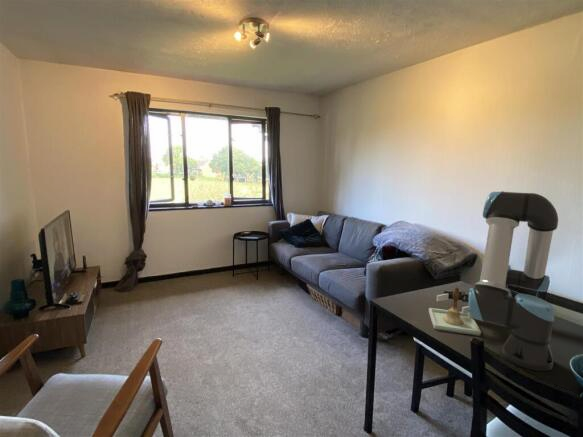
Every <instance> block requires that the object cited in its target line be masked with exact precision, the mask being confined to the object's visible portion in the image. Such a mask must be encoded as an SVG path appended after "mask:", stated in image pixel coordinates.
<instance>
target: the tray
mask: <svg viewBox="0 0 583 437" xmlns="http://www.w3.org/2000/svg"><path fill="white" fill-rule="evenodd" d="M448 311H449V309H441V308H433V307H429V308H428V314H429V316H430V320H431V323H432V326H433V329H434V330H437V331H443V332H449V333H456V334H457V333H458V334H465V335H472V336H479V337H481V334H482V330H481V329H480V327H479V325H478V324H477V322H476V321H475V318H472V317H471V316H470V314H469V313H465V314H462V311H460V318H461V320H462V321H463V325H452V324H449V323H446V322H445V321H444V320H443V318H444V317H445V316H446V315H447V314H448Z"/></svg>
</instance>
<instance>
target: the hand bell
mask: <svg viewBox="0 0 583 437" xmlns="http://www.w3.org/2000/svg"><path fill="white" fill-rule="evenodd" d="M459 292H460V289H459V287H454V290H453V299H452V301H453V302H452V307H450V308H448V310H449V311H448V314H447V315H446V316H445V317H444V318H443V320H444V321H445V322H446V323H449V324H452V325H463V321H462V320H461V318H460V312H461V311H460V310H459V309H458V308H457V307H458V301H459V300H458V299H459Z"/></svg>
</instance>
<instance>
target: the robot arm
mask: <svg viewBox="0 0 583 437" xmlns="http://www.w3.org/2000/svg"><path fill="white" fill-rule="evenodd" d="M482 218H484V219H485V223H486V224H487V225H488V226H489V227H488V232H487V237H486V243H485V248H484V256H483V262H482V267H481V273H480V277H479V278H480V279H479V281H477V282H476V283H474V287H470V288H469V292H468V293H465V291H459V299H458V301H461V302H464V303H467V304H468V305H467V306H463V307H461V312H462V314H465V313H469V314H470V316H471V317H472V318H473V319H474V320H478V321H481V322H484V323H489V324H493V325H496V326H500V327H504V328H509V329H510V334H509V335H508V336H507V339H506V340H505V342H504V343H503V345H502V350H501V352H502V355H503V357H504V358H506V359H507V360H508V361H510V362H511V363H513V364H515V365H517V366H519V367H522V368H525V369H527V370H530V371H532V370H533V371H537V372H548V371H551V370H552V369H553V366H554V357H553V353H552V349H551V345H550V344H551V338H552V332H553V331H552V330H553V324H554V322H555V307H553V305H552V304H551V303H549V302H548V301H546V300H544V299H543V298H539V297H537V296H535V295H532V294H528V293H527V294H526V293H517V294H516V295H515V296H512V292H511V290H510V288H508V287H509V286H511V287H518V288H522V289H527V290H531V291H535V292H544V293H546V292H547V291H548V290H549V286H550V276H549V275H547V274H546V271H547V265H548V259H549V254H550V248H551V244H552V238H553V233H554V231H555V230H557V228H558V226H559V215H558V212H557V210H556V208H555V206H554V205H553V203H552V202H551V201H550V199H549V200H548V198H546V197H545V196H543V195H541V194H539V193H536V192H535V193H532V192H530V193H528V192H514V191H503V190H502V191H491V192H490V193H489V194H488V195H487V197H486V200H485V202H484V205H483V210H482ZM520 222H521V223H522V222H527V227H528V228H529V231H528V239H527V246H526V252H525V260H524V267H523V271H522V270H517V269H512V268H511V265H510V264H509V263H510V258H511V257H510V256H511V250H512V243H513V237H514V230H515V229H516V228H518V227H519V226H520ZM453 292H454V290H453V291H449V290H444V291H443V294H437V295H436V302H442V301H447V300H450V299H451V300H453Z"/></svg>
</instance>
